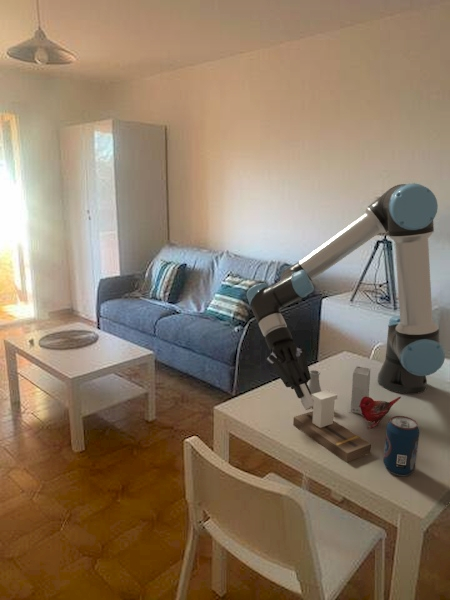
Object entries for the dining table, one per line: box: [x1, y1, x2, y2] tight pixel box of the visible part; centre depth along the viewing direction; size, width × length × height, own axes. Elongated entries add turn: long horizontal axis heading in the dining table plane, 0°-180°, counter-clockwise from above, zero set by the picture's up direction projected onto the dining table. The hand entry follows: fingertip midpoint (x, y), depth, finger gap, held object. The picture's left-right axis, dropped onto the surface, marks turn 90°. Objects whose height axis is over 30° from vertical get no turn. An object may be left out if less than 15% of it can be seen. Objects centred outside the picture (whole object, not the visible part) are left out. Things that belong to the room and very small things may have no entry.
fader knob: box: [311, 389, 338, 428], centre depth 119 cm, size 4×6×8 cm, turn 120°
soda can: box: [383, 415, 420, 477], centre depth 105 cm, size 7×7×12 cm
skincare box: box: [350, 366, 371, 415], centre depth 133 cm, size 6×4×12 cm
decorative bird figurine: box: [359, 396, 402, 429], centre depth 124 cm, size 3×18×10 cm, turn 123°
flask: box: [300, 369, 322, 405], centre depth 137 cm, size 7×7×10 cm
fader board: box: [292, 410, 372, 463], centre depth 118 cm, size 20×8×3 cm, turn 30°
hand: (310, 407), depth 124 cm, fingers closed
